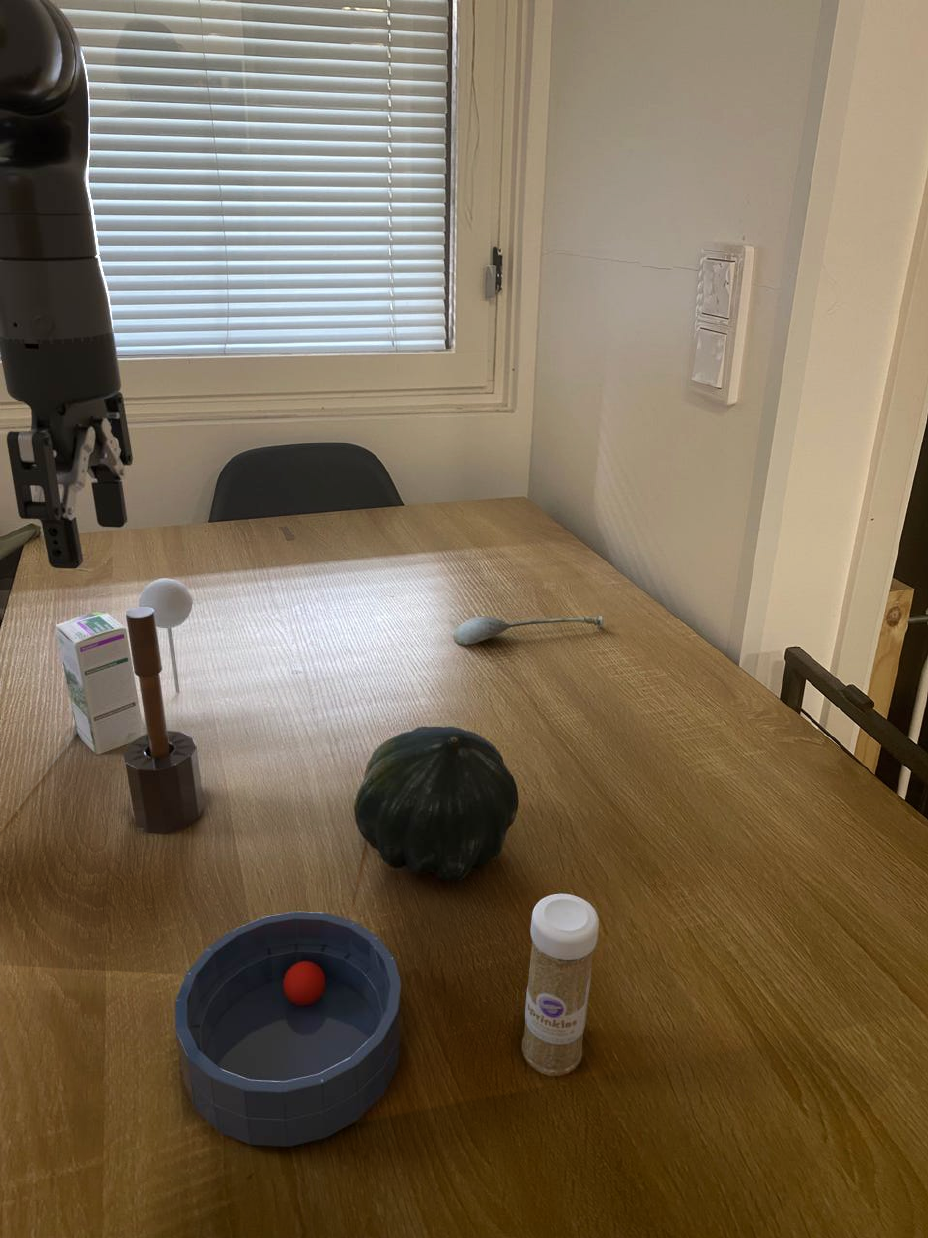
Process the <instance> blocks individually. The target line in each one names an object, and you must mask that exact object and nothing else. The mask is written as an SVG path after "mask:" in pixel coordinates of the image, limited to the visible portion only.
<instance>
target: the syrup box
mask: <svg viewBox="0 0 928 1238" xmlns="http://www.w3.org/2000/svg"><path fill="white" fill-rule="evenodd" d="M54 625H55V631H56V636H57V641H58V646H59V652H60V657H61V663H62V666H63V671H64V675H65V682H66V685H67V691H68V697H69V701H70V706H71V710H72V715H73V719H74V723H75V724H74V725H75V729H76V734H77V736H78V737H79V738H80V739H81V740H82V741H83V743H85V744H86V745H87V747H89V749H90V750H91V751H92V752H93V753H94V754H95V755H97V756H98V755H101V754H104V753H107V752H109V751H112V750H115V749H118V748H120V747H122V746H125V745H128V744H129V743H130V742H132V741H134V740H136V739H138V738H139V737H141V736H143V735H145V731H144V726H143V719H142V713H141V706H140V701H139V700H140V699H139V694H138V689H137V683H136V677H135V672H134V665H133V659H132V653H131V648H130V642H129V636H128V629H127V628H126V627H125V626H124V625H123V624H122V623H120V622H119V621H118V620H116V619H115V618H114V617H113V616H111V615H110V614H108V613H107V612H106V611H104V610H102V611H97V612H91V613H87V614H83V615H80V616H77V617H74V618H71V619H68V620H65V621H63V622H60V623H58V624H54Z"/></svg>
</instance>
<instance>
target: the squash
mask: <svg viewBox="0 0 928 1238" xmlns="http://www.w3.org/2000/svg"><path fill="white" fill-rule="evenodd" d="M518 791H519V790H518V786H517V783H516V780H515V778H514V775H513V774H512V773H511V771H510V770H509V768H508V767H507V766H506V764H505V762H504V759H503V756H502V754H501V753H500V751H499V750H498V749H497V748H496V746H495V745H494V744H493V743H492V742H491V741H489V740H488V739H486V738H485V737H483V736H481V735H479V734H477V733H475V732H473V731H469V730H465V729H463V728H460V727H457V726H418V727H416V728H415V729H413V730H411V731H406V732H402V733H400V734H397V735H395V736H392V737H390V738H388V739H386V740H385V741H383V742H382V743H381V744H380V745H379V746H378V747H376V749H375V750H374V751H373V753H372V755H371V757H370V759H369V760H368V762H367V764H366V768H365V770H364V776H363V781H362V783H361V784H360V786H359V789H358V791H357V793H356V796H355V799H354V805H353V811H354V819H355V823H356V827H357V828H358V831H359V833H360V835H361V836H362V838H363V839H364V840H365V841H366V842H367V843H368V844H369V845H370V846H371V847H372V848H373V849H374V850H377V851H378V853H379V855H380V857H381V859H382V861H383V862H385V863H386V864H387V865H388V866H389V867H391V868H394V869H401V868H404V867H407V869H408V870H409V871H410V872H411V873H412V874H415V875H417V876H424V875H427V874H429V873H431V872H432V873H433V874H434V875H435V876H436V877H438V878H439V879H440V880H441V881H445V882H448V883H457V882H459V881H461V880H463V879H464V878H465V877H466V876H467V875H469V873H470V871H471V870H472V871H479V870H481V869H484V868H486V867H487V866H489V865H490V864H491V863H492V862H493V861H495V860H496V859H497V858H498V856H499V855H500V854H501V852H502V849H503V846H504V843H505V839H506V835H507V832H508V830H509V829H510V827H511V826H512V825H513V823H514V822H515V820H516V817H517V813H518V810H519V800H520V799H519V792H518Z"/></svg>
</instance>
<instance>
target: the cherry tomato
mask: <svg viewBox="0 0 928 1238" xmlns="http://www.w3.org/2000/svg"><path fill="white" fill-rule="evenodd" d="M283 989H284V993H285V995H286V997H287V998H288V999H289V1000H290V1001H291V1002H292V1003H294V1004H296V1005H299V1006H307V1005H310V1004H313V1003H314V1002H316V1001H317V1000H318V999H319V998H320V997H321V995H322V994H323V992H324V989H325V976H324V973H323V971H322V969H321V968H320V967H319V966H318V965H317V964H315V963H313V962H310V961H302V962H298V963H296V964H294V965H293V966H292V967H291V968H290V969H289V970H288V971H287V973H286V975H285V977H284V981H283Z"/></svg>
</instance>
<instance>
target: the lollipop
mask: <svg viewBox="0 0 928 1238" xmlns="http://www.w3.org/2000/svg"><path fill="white" fill-rule="evenodd" d="M193 603H194V599H193V596H192V594H191V592H190V590H188V588H187V587H186V586H185V584H184V583H181V582H180V581H178V580H176V579H173V578H168V577H167V578H166V577H165V578H164V577H163V578H159V579H156V580H154V581H151V582H150V583H148V584H147V585H146V586H145V588H144V589H143V591H142V592H141V595H140V597H139V599H138V607H149V608H152V609H153V610H154V613H155V620H156V628H160V629H167V636H168V643H169V652H170V659H171V666H172V674H173V675H172V676H173V683H174V690H175V693H177V694H178V693H180V685H179V678H178V668H177V661H176V653H175V644H174V638H173V630H172V629H173V628H176V627H178V626H180V625H182V624H183V623H184V622H185V621H187V619H188V617H189V616H190V614H191V612H192V608H193V605H194V604H193Z"/></svg>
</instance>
